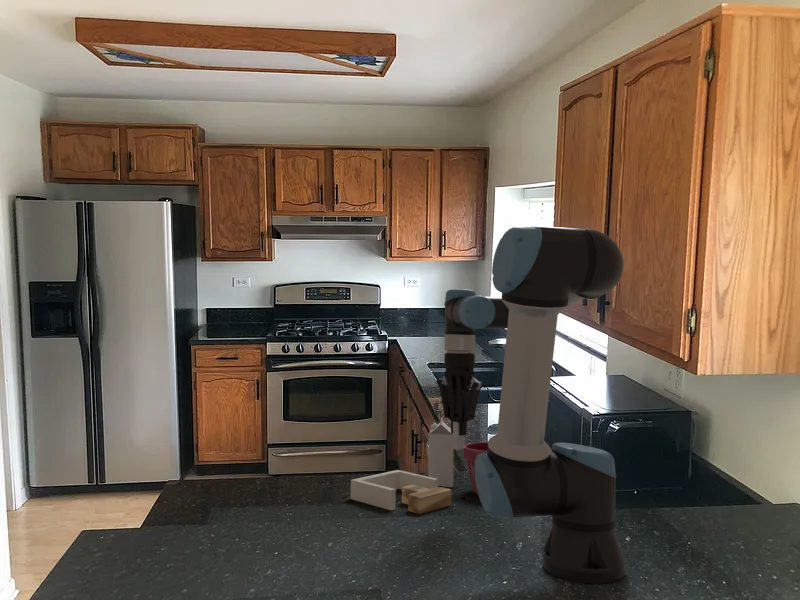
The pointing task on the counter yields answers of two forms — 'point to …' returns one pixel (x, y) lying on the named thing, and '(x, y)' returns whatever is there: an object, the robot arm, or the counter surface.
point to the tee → (425, 498)
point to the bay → (387, 487)
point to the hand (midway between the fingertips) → (458, 448)
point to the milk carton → (441, 454)
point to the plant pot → (470, 456)
